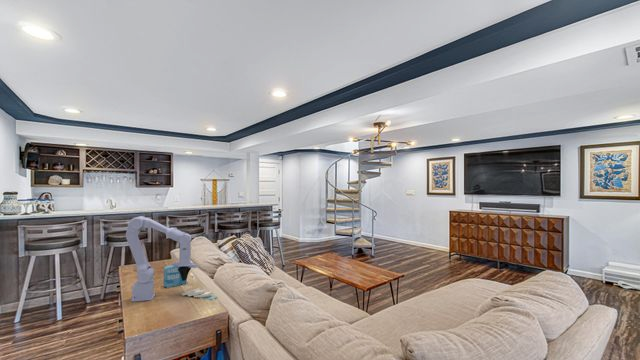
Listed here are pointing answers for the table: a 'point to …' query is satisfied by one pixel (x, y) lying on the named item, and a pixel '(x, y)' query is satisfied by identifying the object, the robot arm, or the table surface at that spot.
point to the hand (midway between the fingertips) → (184, 280)
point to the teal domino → (209, 297)
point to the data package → (172, 277)
